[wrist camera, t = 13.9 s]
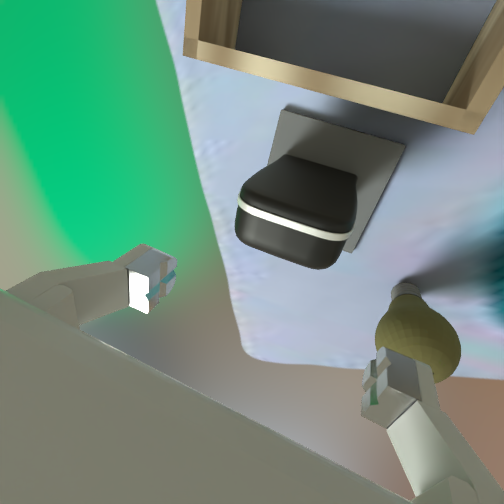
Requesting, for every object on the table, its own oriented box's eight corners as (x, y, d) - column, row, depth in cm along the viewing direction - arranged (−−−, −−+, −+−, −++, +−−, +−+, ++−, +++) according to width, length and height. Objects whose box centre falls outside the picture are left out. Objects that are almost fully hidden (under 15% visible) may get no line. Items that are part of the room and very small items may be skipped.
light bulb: (392, 319, 29) (404, 409, 21) (361, 280, 28) (359, 357, 20) (450, 299, 26) (490, 393, 18) (417, 254, 25) (443, 332, 17)
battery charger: (271, 192, 26) (219, 247, 17) (281, 151, 24) (229, 187, 15) (344, 216, 25) (332, 289, 16) (361, 174, 23) (360, 230, 14)
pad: (404, 144, 22) (405, 145, 21) (351, 250, 27) (351, 253, 27) (282, 109, 23) (281, 109, 23) (255, 215, 29) (254, 218, 28)
